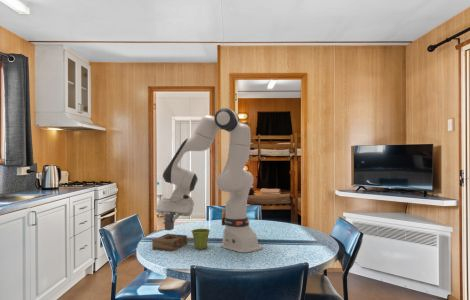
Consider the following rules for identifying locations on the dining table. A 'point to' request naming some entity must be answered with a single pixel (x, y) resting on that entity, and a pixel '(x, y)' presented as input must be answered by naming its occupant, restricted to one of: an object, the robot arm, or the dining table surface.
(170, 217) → the servo
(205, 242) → the plant pot
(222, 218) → the ammunition clip
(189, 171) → the robot arm
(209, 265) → the dining table surface
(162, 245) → the brown wooden box
